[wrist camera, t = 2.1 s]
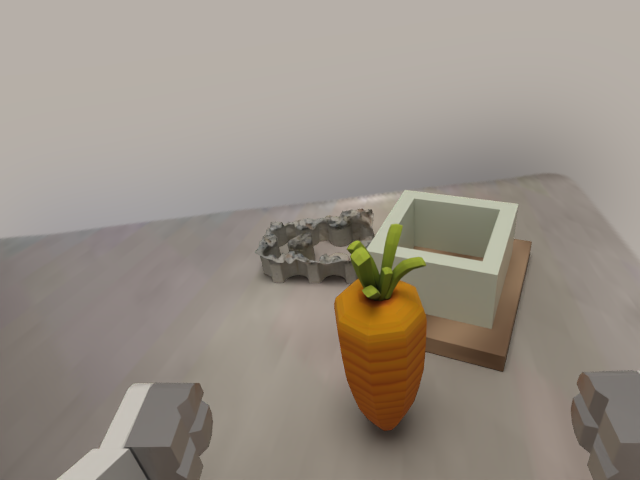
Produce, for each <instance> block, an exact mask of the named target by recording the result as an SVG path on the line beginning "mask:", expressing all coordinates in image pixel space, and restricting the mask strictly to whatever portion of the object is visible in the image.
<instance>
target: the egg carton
mask: <svg viewBox="0 0 640 480" xmlns="http://www.w3.org/2000/svg"><path fill="white" fill-rule="evenodd" d="M372 225H373V213H372V210H369V209H368V210H363V209H357V210H349V211H345V212H343V211H342V213H341V215H340V216H339V217H336V216H326V217H325V218H320V219H309V218H307V219H303V220H298V221H295V222H289V223H287V224H285V225H283V223H282V222H281V223H280V222H274V223H273V222H271V227H270V228H267V230H266V234H265V235H264V236H263V238H262V240H261V241H260V242H259V248H258V249H257V250H256V251H255V253H256V254H258V255H260V258H261V261H262V266H263V270H264V274H265V275H269V276H271V277H272V279H273V282H274V283H284V282H285V280H286V279H288V278H289V277H291V276H294V275H303V276H306V277H307V278H308V280H309V283H320V282H321V281H322V280H323V279H324V278H325V277H328V276H331V275H339V276H342V277H343V278H344V279H345V280H346V283H349V284H352V283H353V282H354V281H355V280H357V279H358V277H357V275H356V272H355V270H354V267H353V265H352V262H351V261H349V260H350V259H349V257H348V256H347V255H346V254H343V253H334V254H332V255H330V256H327V254H324V255H322V256H321V257H320V259H319V262H318V261H315V255H314V249H313V246H314V245H316V244H318V243H319V242H320V241H329V240H330V242H331V244H332V245H334V246H338V247H342V246H346V245H349V244H350V243H351V242H352V241H354V240H361V243H362V244H363V245H364V246H365V248H366V249H367V248H368V246H369V245H370V243H371V241H372V240H373V238H374V237H375V236H374V233H373V229H372ZM288 241H289V242H288ZM287 242H288V248H289V253H288V254H284V253H282V255H281V254H280V250H279V247H280V246H283V245H285V244H286V243H287Z"/></svg>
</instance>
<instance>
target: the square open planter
mask: <svg viewBox="0 0 640 480" xmlns="http://www.w3.org/2000/svg"><path fill="white" fill-rule="evenodd" d="M517 212H518V204H514V203H506V202H498V201H490V200H482V199H474V198H466V197H457V196H449V195H441V194H433V193H425V192H417V191H409V190H405V191H404V192H403V194H402V195H401V197H400V198H399V200H398V201H397V203H396V204H395V206H394V208H393V209H392V211H391V212H390V214H389V215H388V217H387V218H386V220H385V221H384V223H383V224H382V226H381V228H380V229H379V231H378V232H377V234H376V235H375V237H374V238H373V240H372V241H371V243H370V245H369V246H368V248H367V250H368V252H369V253H370V255H371V256H372V258H373V259H374V262H375V264H376V266H377V269H378V271H379V274H380V272H381V265H382V259H383V253H384V246H385V241H386V237H387V233H388V230H389V227H390V225H391V224H400V225H403V228H402V232H401V236H400V239H399V243H398V246H397V250H396V254H395V258H394V262H393V266H392V271H393V269H394V268H395V267H396V266H397V265H398V264H399V263H400V262H401V261H403V260H406V259H409V258H414V257H422V258H423V260H424V261H425V263H426V266H425V267H421V268H417V269H413V270H412V271H410V272H409V273H407V274H406V275H405V276H403V277H402V278H401V279H400V280H401V281H403V282H406V283H408V284H411V285H413V286H415V287H416V289H417V292H418V295H419V298H420V300H421V303H422V306H423V308H424V311H425V314H428V315H432V316H437V317H441V318H446V319H450V320H454V321H459V322H463V323H467V324H472V325H476V326H480V327H485V328H489V329H492V326H493V322H494V318H495V315H496V311H497V307H498V304H499V300H500V296H501V293H502V289H503V285H504V282H505V278H506V274H507V271H508V267H509V263H510V260H511V256H512V250H513V242H514V235H515V227H516V219H517ZM414 246H418V247H423V248H429V249H435V250H441V251H447V252H452V253H458V254H464V255H470V256H476V257H482V258H484V259H483V261H478V260H472V259H467V258H461V257H455V256H449V255H444V254H438V253H432V252H426V251H421V250H415V249H413V248H414Z"/></svg>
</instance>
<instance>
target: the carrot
mask: <svg viewBox="0 0 640 480" xmlns="http://www.w3.org/2000/svg"><path fill="white" fill-rule="evenodd" d="M402 228H403V225H400V224H391V225H390V227H389V230H388V233H387V237H386V241H385V246H384V253H383V259H382V265H381V272H380V274H379V271H378V269H377V266H376V264H375V262H374V259H373V258H372V256H371V255H370V253H369V252H368V250H367V249H366V248H365V246H364V245H363V244H362V243H361V242H360V241H354V242H353V243H351V244H350V245H349V247H348V248H347V250H348V251H349V252H350V253H351V256H350V257H351V262H352V265H353V267H354V270H355V272H356V275H357V277H358V279H357V280H355V281H354V282H353V283H352V284H351V285H350V286H349V287H348V288H346V289H345V290H344V291H343V292H342V293H341V294H340V295H339V296H337V297H336V299H335V303H334V309H335V316H336V323H337V330H338V336H339V342H340V348H341V354H342V359H343V364H344V368H345V373H346V378H347V381H348V384H349V386H350V389H351V392H352V394H353V396H354V399H355V401H356V403H357V405H358V407H359V409H360V410H361V411H362V413H363V414H364V415H365V416H366V417H367V418H368V419H369V420H370V421H371V422H372V423H374V424H375V425H376V426H378V427H379V428H381V429H382V430H384V431H387V430H392V429H393V428H395V427H396V426H397V425H398V424H399V422H400V421H401V420H402V418H403V417H404V416H405V415H406V413H407V412H408V410H409V408H410V407H411V405H412V404H413V402H414V400H415V397H416V394H417V391H418V388H419V385H420V381H421V377H422V374H423V370H424V359H425V348H426V328H427V319H426V314H425V311H424V308H423V306H422V303H421V300H420V298H419V295H418V292H417V289H416V287H415V286H413V285H411V284H408V283H406V282H403V281H401V280H400V279H401V278H402V277H403V276H405V275H406V274H407V273H409V272H410V271H412V270H413V269H417V268H421V267H425V266H426V263H425V261H424V260H423V258H422V257H414V258H409V259H406V260H403V261H401V262H400V263H399V264H398V265H397V266H396V267H395V268H394V269H393V271H392V266H393V262H394V258H395V254H396V250H397V246H398V243H399V239H400V236H401V232H402Z"/></svg>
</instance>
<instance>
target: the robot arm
mask: <svg viewBox="0 0 640 480" xmlns="http://www.w3.org/2000/svg"><path fill="white" fill-rule="evenodd" d="M577 386H578V388H579V390H580V393H579V394H578V395H577V396H575V397H574V398H573V401H572V406H571V418H572V425H573V429H574V433H575V435H576V438H577V440H578V443H579V445H580V446H582V447H583V448H584V449H585V450H586V451H588V452H589V453H590V457H589V461H588V464H587V466H588V468H589V471H590V473H591V476H592V478H593V480H640V371H633V370H628V371H602V372H582V373H581V374H580V375H579V378H578V381H577ZM203 393H204V392H203V390H202V388H201V386H200V383H134V384H133V385H132V386H131V387H130V388H129V389H128V390H127V392H126V394H125V396H124V398H123V400H122V402H121V404H120V406H119V408H118V410H117V412H116V415H115V417H114V419H113V421H112V423H111V425H110V427H109V429H108V431H107V433H106V435H105V437H104V439H103V441H102V444H101V446H100V448H99V449H92V450H91V451H90V452H88V453H87V454H86V455H85V456H84V457H83V458H81V459H80V460H79V461H78V462H77V463H76V464H74V465H73V466H72V467H71V468H70V469H69V470H67V471H66V472H65V473H64V474H63V475H61V476H60V477H59V478H58V479H57V480H200V476H201V473H202V469H203V464H202V462H201V459H200V457H199V456H200V455H201V454H202V453H203V452H204V451H205V450H206V449H207V448H208V447H209V444H210V440H211V436H212V425H213V420H212V413H211V410H210V407H209V405H208V404H206V403H205V402H203V401H202V397H203Z"/></svg>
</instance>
